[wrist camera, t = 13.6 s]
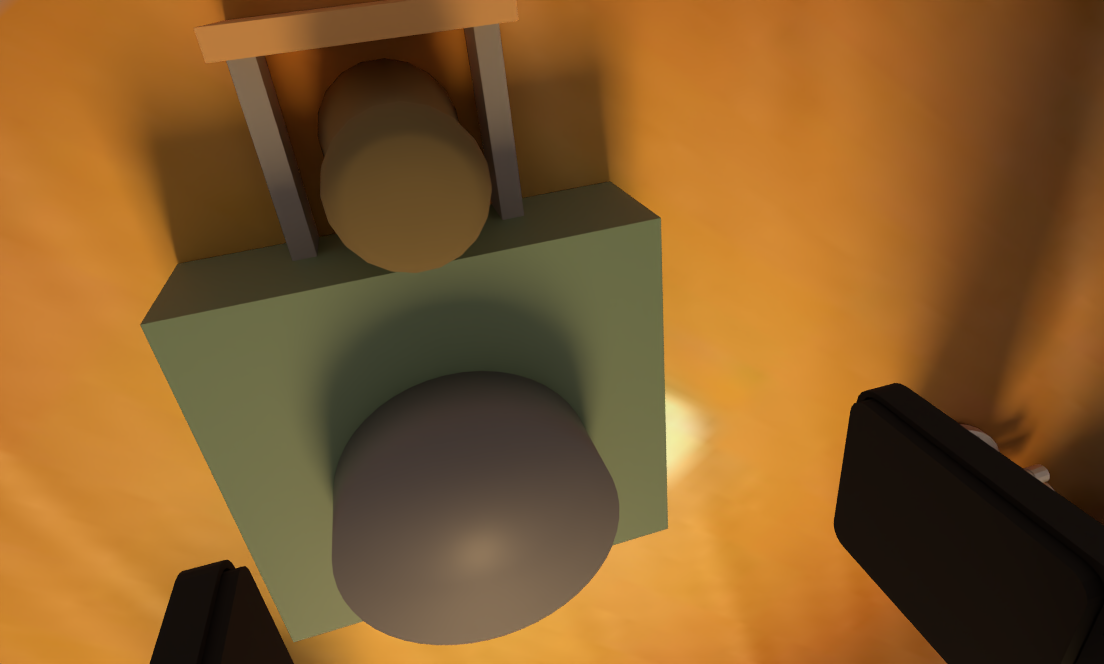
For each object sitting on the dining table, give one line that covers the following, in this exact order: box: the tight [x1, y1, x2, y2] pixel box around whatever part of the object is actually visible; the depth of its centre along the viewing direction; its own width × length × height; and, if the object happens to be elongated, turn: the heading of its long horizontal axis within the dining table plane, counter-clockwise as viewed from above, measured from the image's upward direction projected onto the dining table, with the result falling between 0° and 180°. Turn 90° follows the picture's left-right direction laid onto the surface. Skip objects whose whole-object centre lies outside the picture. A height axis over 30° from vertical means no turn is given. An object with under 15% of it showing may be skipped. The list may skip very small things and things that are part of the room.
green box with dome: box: [140, 0, 668, 645], centre depth 28 cm, size 20×27×10 cm
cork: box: [318, 59, 492, 273], centre depth 23 cm, size 6×6×11 cm
